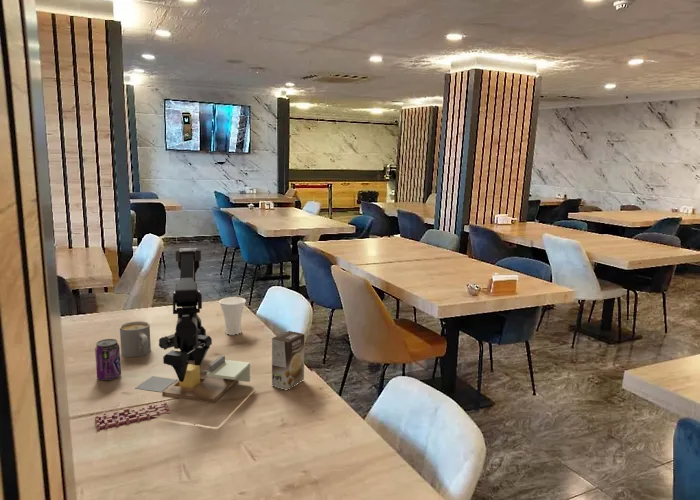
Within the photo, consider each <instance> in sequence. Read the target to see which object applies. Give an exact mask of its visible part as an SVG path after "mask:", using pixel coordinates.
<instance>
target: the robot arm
mask: <svg viewBox="0 0 700 500" xmlns="http://www.w3.org/2000/svg"><path fill="white" fill-rule="evenodd" d="M174 255H175V257H174V258H175V262H176V263H177V264H178V265H177V266H178V269H179V270H180V274H179V278H180V279H179V281H178V282H177V283H176V284H175V290H174V291H173V292H172V315H177V320H176V324H175V325H176V326H175V332H174V334H170V335H168V336H166V335H165V336H162V337H160V338H159V339H158V346H159V348H161V349H163V350H168V349H171V348H173V349H175V350H173V349H172V350H170V351H168V352H167V353H166V354H164V355H163V357H162V359H163V361H162V362H163V364H164V365H167V366H171V367H172V368H173V370H174V371H175V374H176V376H177V380H179V381H180V382H183V381H184V378H185V374H186V370H187V367H188V364H190V363H189V361H193V362H194V364H193V365H199V366H200V367H201V366H202V363H203V361H204V359H205V357H206V355H207V353H208V351H209V349H210V347H211V345H213V340H212V337H211V336H210V335H207V331H206V329H205V327H204V325H202V319H201V317H200V316H199V314H198V313H200V312H201V309H203V305H202V304H203V303H202V302H203V301H202V300H203V297H202V292H201V291H200V290H198V284H197V280H196V279H197V278H196V277H197V276H196V273H197V272H198V270H199V268H200V262H202V258H203V257H202V250H199V249H198V247H194V248H193V247H190V248H189V247H186V248H185V247H184V248H179V250H175V254H174ZM178 349H179V350H178Z"/></svg>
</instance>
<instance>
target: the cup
mask: <svg viewBox="0 0 700 500" xmlns="http://www.w3.org/2000/svg"><path fill="white" fill-rule="evenodd" d="M218 302H219V304H220V308H221V310H222V313H223V318H224V324H225V329H224V333H226V334H225V335H227V334H229V335H228V336H236V335H235V334H237V335H240V334H241V333H242V316H243V313H244V308H245V306H246V305H245V304H246V302H247V300H246V299H245V297H244V298H243V297H239V296H228V297H223V298H222V299H220V300H219V301H218ZM239 333H240V334H239Z"/></svg>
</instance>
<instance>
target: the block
mask: <svg viewBox="0 0 700 500" xmlns="http://www.w3.org/2000/svg"><path fill="white" fill-rule="evenodd" d="M200 368H201V366H199V365H195V364H191V363H188V367H187V370H186V374H185V378H184V381H183V382H180V381H179V385H180V387H185V388H192V389H194V388H195V387H196V386H198V385H199V384H200V370H201V369H200Z"/></svg>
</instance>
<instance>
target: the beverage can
mask: <svg viewBox="0 0 700 500" xmlns="http://www.w3.org/2000/svg"><path fill="white" fill-rule="evenodd" d="M95 344H96V345H95V348H94V352H95V353H94V355H95V367H96V378H97V379H98V380H102V381H111V380H115V379H117V378H119V377H120V376H121V375H122V367H121V364H122V363H121V347H120V344H119V343H118V340H117V339H116V338H103V339H101V340H98V341H96V342H95Z"/></svg>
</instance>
